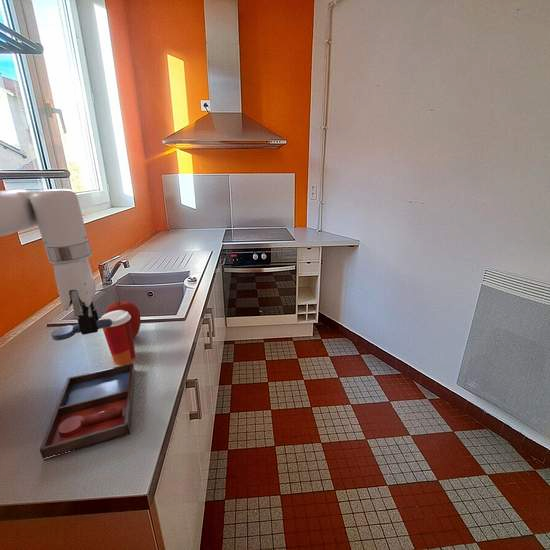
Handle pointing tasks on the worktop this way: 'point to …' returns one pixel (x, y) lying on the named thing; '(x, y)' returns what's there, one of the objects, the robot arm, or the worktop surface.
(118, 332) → the paper cup
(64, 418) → the tray
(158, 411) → the worktop surface
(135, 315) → the apple
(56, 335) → the blue spoon
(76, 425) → the red spoon
